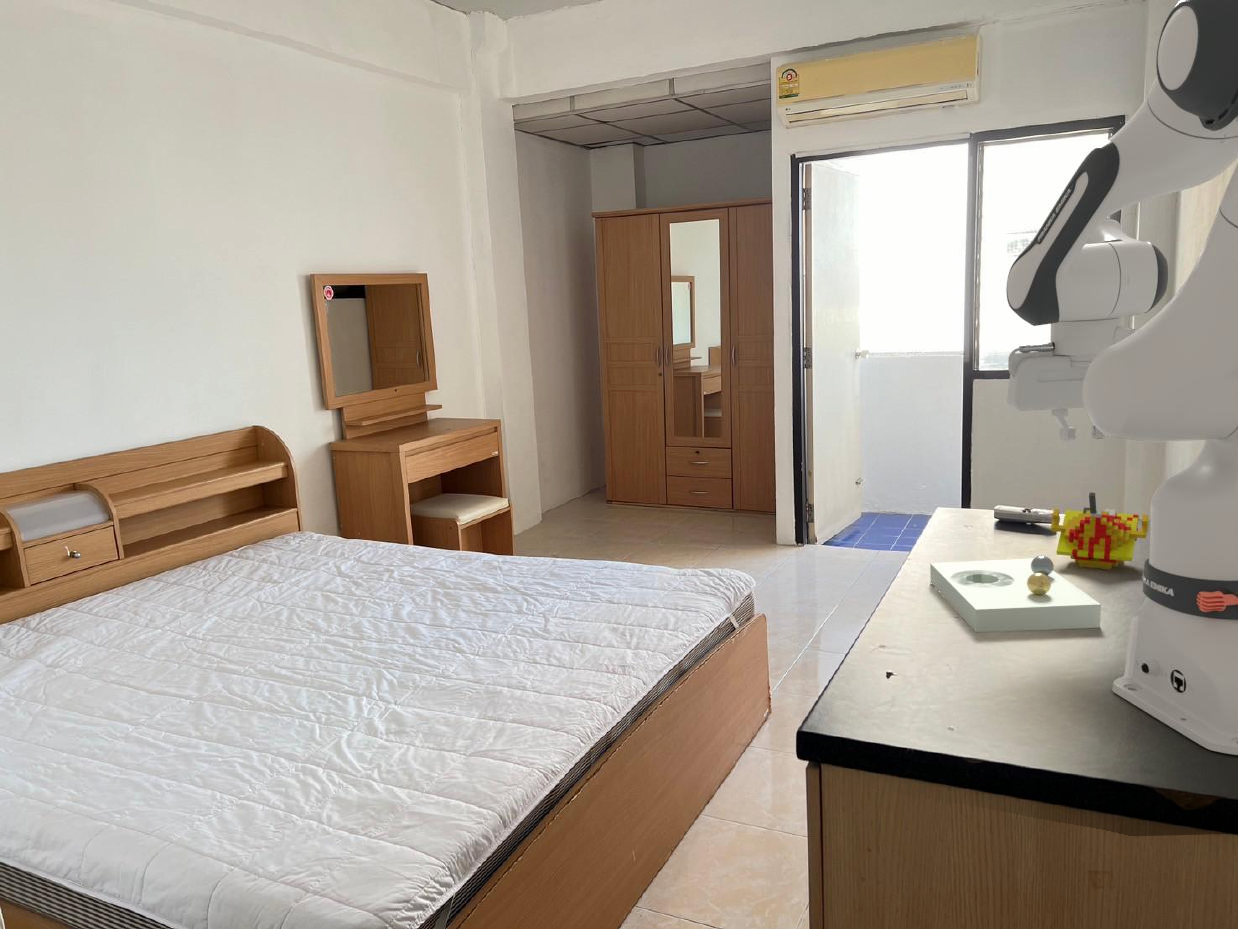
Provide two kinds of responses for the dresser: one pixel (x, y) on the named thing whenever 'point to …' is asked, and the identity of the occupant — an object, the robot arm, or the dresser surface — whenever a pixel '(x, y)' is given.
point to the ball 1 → (1042, 565)
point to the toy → (1098, 535)
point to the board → (1012, 597)
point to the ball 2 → (1039, 583)
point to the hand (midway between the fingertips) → (1083, 439)
